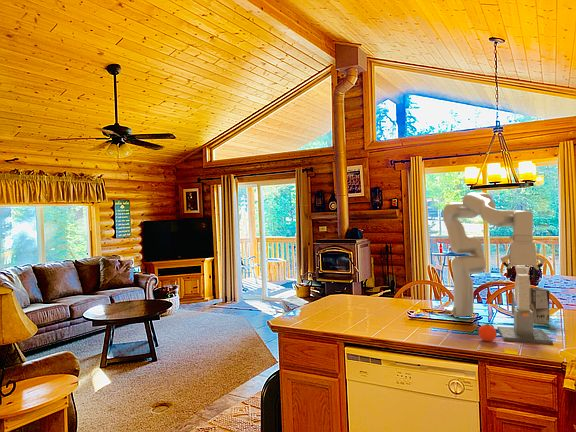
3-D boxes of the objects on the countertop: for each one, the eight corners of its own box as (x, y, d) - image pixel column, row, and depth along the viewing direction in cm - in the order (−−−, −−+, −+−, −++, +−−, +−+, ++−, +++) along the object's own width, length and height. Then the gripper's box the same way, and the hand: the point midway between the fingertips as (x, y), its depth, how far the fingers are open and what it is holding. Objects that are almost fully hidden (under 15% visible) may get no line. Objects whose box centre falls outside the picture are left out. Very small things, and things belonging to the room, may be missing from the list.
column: (518, 319, 185) (518, 275, 185) (517, 317, 189) (516, 274, 189) (529, 320, 183) (529, 275, 183) (527, 318, 187) (527, 274, 187)
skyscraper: (527, 313, 231) (526, 261, 231) (534, 316, 223) (533, 263, 223) (510, 312, 232) (510, 261, 232) (517, 316, 224) (516, 263, 224)
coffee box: (550, 323, 207) (549, 290, 207) (535, 323, 209) (535, 290, 209) (542, 319, 216) (542, 287, 216) (529, 318, 218) (528, 287, 217)
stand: (504, 340, 180) (503, 313, 180) (497, 329, 198) (497, 304, 197) (552, 344, 175) (552, 316, 175) (541, 332, 192) (541, 307, 192)
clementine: (477, 337, 185) (477, 321, 185) (494, 338, 183) (494, 322, 183) (479, 342, 178) (479, 325, 178) (498, 344, 176) (498, 326, 176)
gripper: (502, 239, 185) (501, 278, 186) (547, 240, 180) (546, 280, 180) (499, 237, 192) (499, 275, 193) (543, 238, 187) (542, 277, 187)
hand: (522, 277), depth 187 cm, fingers open, 9 cm apart
